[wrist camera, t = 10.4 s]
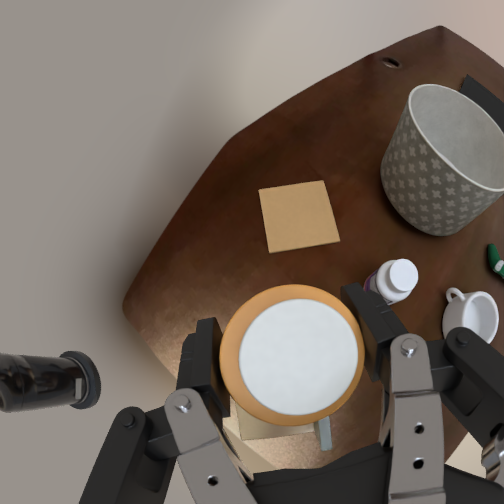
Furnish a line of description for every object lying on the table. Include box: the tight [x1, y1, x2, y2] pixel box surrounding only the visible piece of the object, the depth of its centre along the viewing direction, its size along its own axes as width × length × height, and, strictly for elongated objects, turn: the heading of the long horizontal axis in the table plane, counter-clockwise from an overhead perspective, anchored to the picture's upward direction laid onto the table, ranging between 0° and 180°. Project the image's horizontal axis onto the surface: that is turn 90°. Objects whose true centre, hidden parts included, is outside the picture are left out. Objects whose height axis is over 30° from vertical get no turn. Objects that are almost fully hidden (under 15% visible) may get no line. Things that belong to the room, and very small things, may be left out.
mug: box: [442, 288, 499, 344], centre depth 32 cm, size 12×10×6 cm
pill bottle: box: [364, 259, 418, 305], centre depth 34 cm, size 5×5×10 cm
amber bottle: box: [219, 284, 365, 426], centre depth 12 cm, size 5×5×10 cm
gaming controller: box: [488, 244, 504, 279], centre depth 34 cm, size 9×4×6 cm
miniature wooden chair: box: [235, 402, 332, 451], centre depth 28 cm, size 9×9×16 cm
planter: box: [381, 84, 504, 236], centre depth 34 cm, size 19×19×18 cm
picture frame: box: [459, 74, 504, 134], centre depth 43 cm, size 40×2×33 cm
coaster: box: [259, 181, 340, 253], centre depth 43 cm, size 11×11×1 cm
